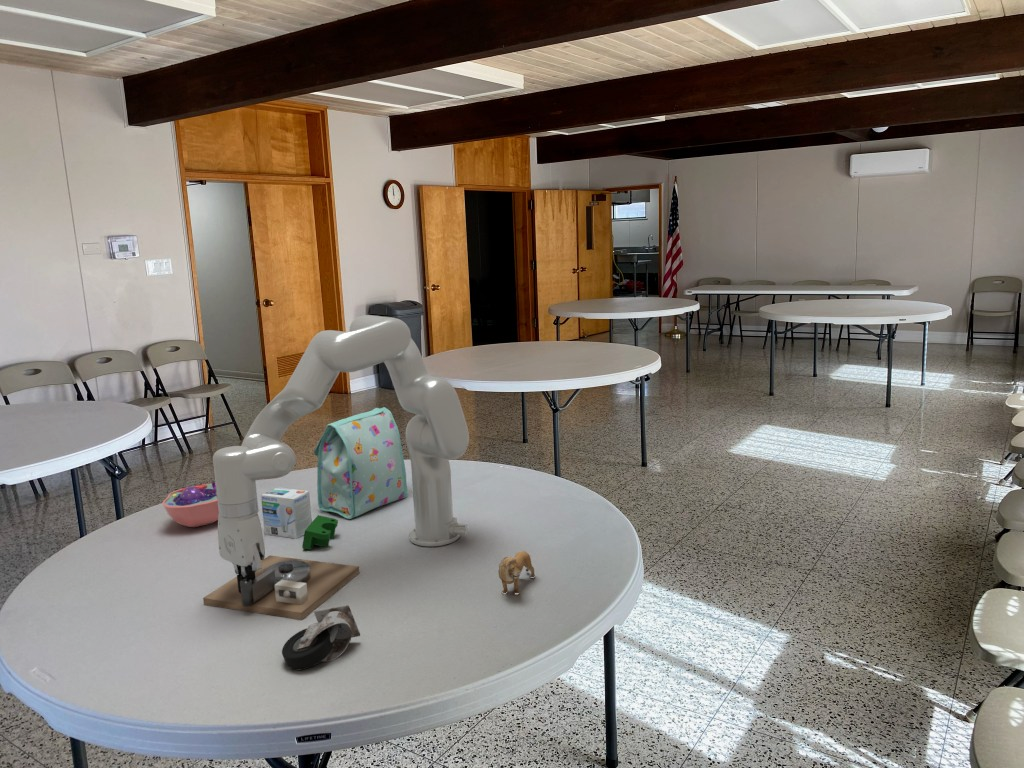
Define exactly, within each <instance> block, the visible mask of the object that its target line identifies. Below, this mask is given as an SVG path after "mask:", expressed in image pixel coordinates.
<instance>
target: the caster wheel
mask: <svg viewBox="0 0 1024 768" xmlns="http://www.w3.org/2000/svg"><path fill="white" fill-rule="evenodd" d="M313 614H314V616H315V619H316V621H317V622H315V623H313V624H310V625H308V626H307V628H304V629H302V630H299V631H298V632H296V633H295V634H293V635H292V636H291V637H289V638H288V640H287V641H285V643H284V644H283V647H282V649H281V654H282V657H283V659H284V661H285V664H286V666H287V667H288V668H289V669H291V670H295V671H296V670H299V671H300V670H305V669H310V668H312V667H314V666H315V665H317V664H319V663H321V662H322V663H323V662H324V663H326V662H330V661H334V660H337V658H340V656H342V655H343V653H344V652H345V651H346V649H347V648H348V646H349V644H350V643H351V640H352V638H357V637H360V636H361V633H360V629H359V628H358V625H357V622H356V620H355V617H354V614H353V612H352V610H351V608H350V605H343V606H337V607H331V608H326V609H322V610H317V611H316V610H315V611H313Z"/></svg>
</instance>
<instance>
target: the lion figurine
mask: <svg viewBox="0 0 1024 768" xmlns="http://www.w3.org/2000/svg"><path fill="white" fill-rule="evenodd" d="M524 567H525V568H526V569H525V572H526V573H527V572H529V571H530V575H529V578H530V577H534V576H535V577H536V575H535V568H534V566H533V565H532V558H531V555H530V554H529V553H528V552H527V551H526V550H525V551H518V552H516V553H515V555H514V556H513V557H511V556H506V557H504V558H503V559H501V560H500V562H499V564H498V572H497V573H498V577H499V580H501V583H502V588H503V590H501V593H502V592H503V593H506V592H507V593H508V592H509V589H508V585H512V584H513V594H514V593H520V594H521V592H520V588H519V585H520V576H521V573H522V571H523V570H524Z"/></svg>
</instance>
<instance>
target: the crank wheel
mask: <svg viewBox="0 0 1024 768" xmlns="http://www.w3.org/2000/svg"><path fill="white" fill-rule="evenodd" d="M310 576H311V574H310V566H309V564H308V563H306V562H304V561H297V560H292V561H284V562H279V563H276V564H273V565H271V566H269V567H267V568H266V569H264V570H263V572H262V574H261V575H260V576H258V577H257V578H255V579H253V580H251V579H250V578H246V579H243V580H241V581H240V587H241V596H242V605H243V606H246V607H247V606H251V605H253V604H254V602H255V601H257V600H258V599H260V598H261V597H262V596H264V595H265V594H267V593H268V592H270V591H271V590H273V589H275V584H276V583H278V582H279V581H281V580H287V581H295V582H302V583H305V582H306V581H307V580H309V578H310Z"/></svg>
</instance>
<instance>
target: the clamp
mask: <svg viewBox="0 0 1024 768" xmlns="http://www.w3.org/2000/svg"><path fill="white" fill-rule="evenodd" d="M338 524H339V520H338V519H336V518H334V517H328V516H324V515H319V514H317V515H316V517H314V519H313V521H312V523H311V524H310V525H309V526H308V527H307V529H306V530H305V533H304V535H303V540H302V546H301V547H302V549H304V550H309V551H311V550H312V549H313V548H314V546H315V545H316V546H319V547H324V548H328V547H329V546H330V545H329V543H330V540H334V539H335V532H336V529H337V528H338Z"/></svg>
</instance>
